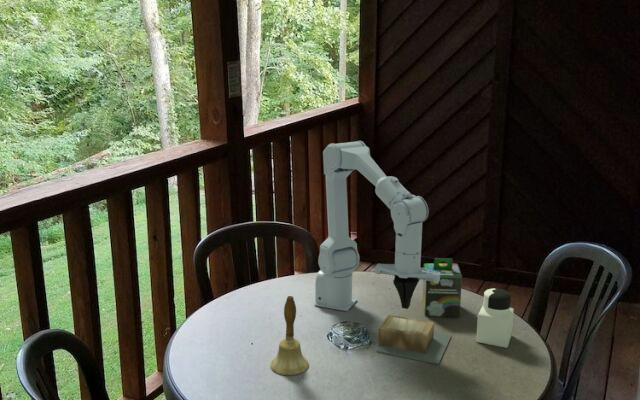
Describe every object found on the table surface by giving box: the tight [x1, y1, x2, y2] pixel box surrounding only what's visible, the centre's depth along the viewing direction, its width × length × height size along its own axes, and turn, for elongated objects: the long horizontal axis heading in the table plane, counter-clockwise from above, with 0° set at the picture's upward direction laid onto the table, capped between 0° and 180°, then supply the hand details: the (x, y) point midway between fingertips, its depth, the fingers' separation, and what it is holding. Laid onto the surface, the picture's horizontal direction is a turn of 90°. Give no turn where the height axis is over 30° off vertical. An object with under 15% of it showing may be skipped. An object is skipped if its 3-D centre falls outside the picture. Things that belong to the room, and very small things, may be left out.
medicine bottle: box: [475, 287, 515, 349], centre depth 138 cm, size 7×7×12 cm
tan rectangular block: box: [377, 314, 435, 354], centre depth 137 cm, size 4×8×11 cm
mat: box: [376, 332, 452, 366], centre depth 136 cm, size 14×14×1 cm
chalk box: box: [422, 257, 463, 319], centre depth 153 cm, size 9×9×15 cm
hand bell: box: [270, 295, 310, 376], centre depth 125 cm, size 8×8×16 cm
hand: (405, 306), depth 135 cm, fingers closed
